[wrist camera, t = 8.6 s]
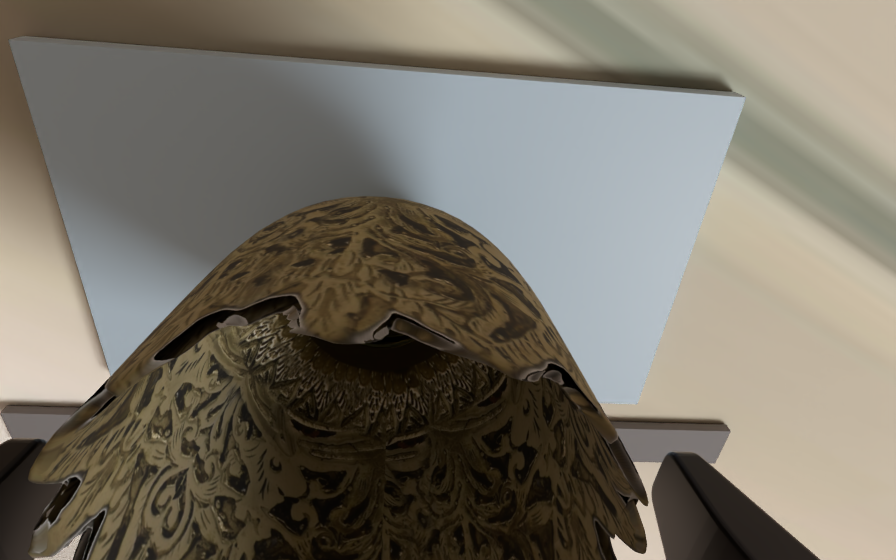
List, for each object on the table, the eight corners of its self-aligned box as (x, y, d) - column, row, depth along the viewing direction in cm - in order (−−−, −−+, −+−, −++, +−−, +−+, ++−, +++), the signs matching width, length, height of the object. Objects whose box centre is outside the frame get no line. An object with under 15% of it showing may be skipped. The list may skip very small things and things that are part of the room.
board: (631, 392, 17) (637, 404, 17) (122, 376, 16) (114, 388, 15) (734, 92, 12) (746, 97, 12) (24, 36, 11) (8, 39, 11)
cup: (295, 400, 16) (203, 747, 9) (170, 158, 12) (-155, 440, 5) (553, 345, 15) (663, 673, 8) (506, 73, 11) (638, 264, 5)
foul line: (711, 456, 19) (715, 463, 18) (22, 441, 17) (16, 449, 17) (726, 424, 18) (730, 431, 18) (7, 405, 16) (0, 413, 16)
